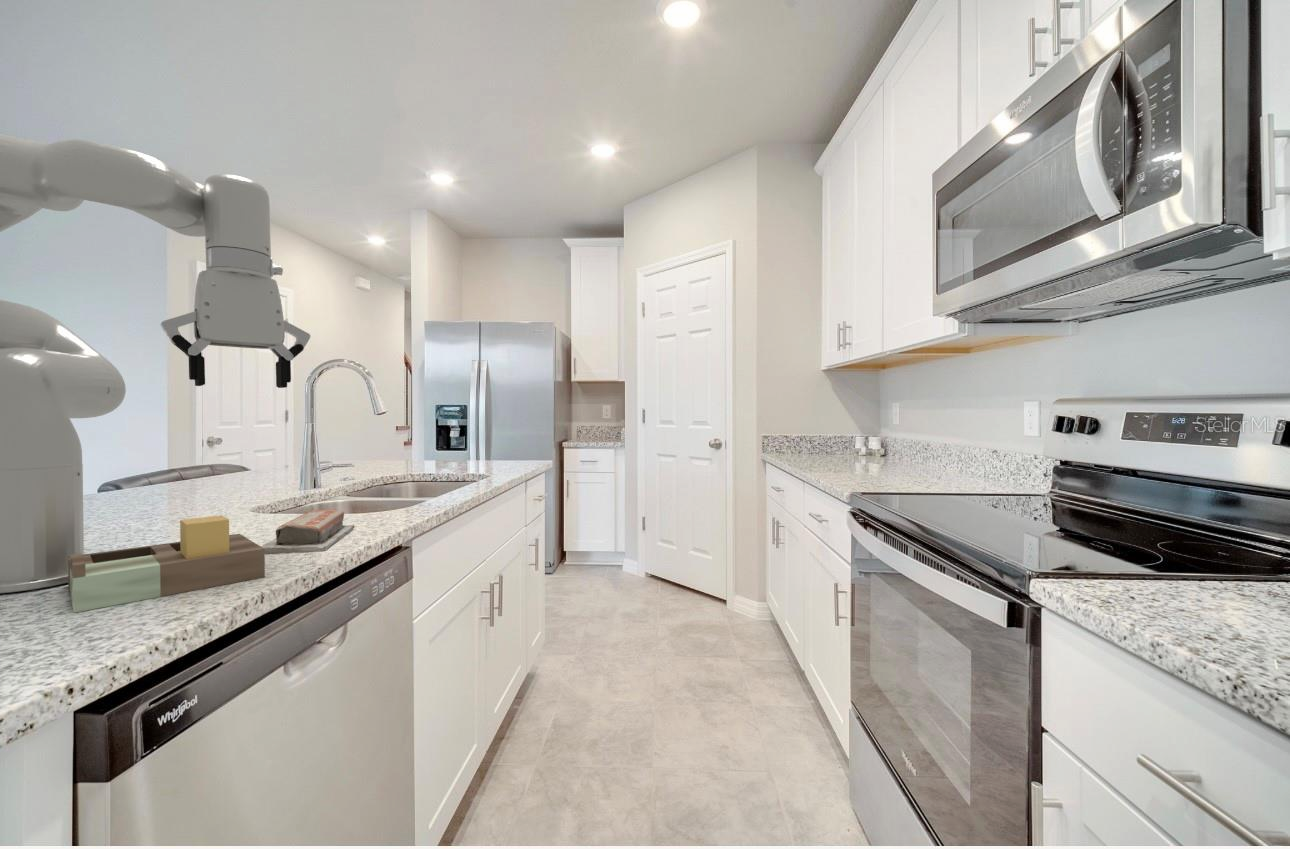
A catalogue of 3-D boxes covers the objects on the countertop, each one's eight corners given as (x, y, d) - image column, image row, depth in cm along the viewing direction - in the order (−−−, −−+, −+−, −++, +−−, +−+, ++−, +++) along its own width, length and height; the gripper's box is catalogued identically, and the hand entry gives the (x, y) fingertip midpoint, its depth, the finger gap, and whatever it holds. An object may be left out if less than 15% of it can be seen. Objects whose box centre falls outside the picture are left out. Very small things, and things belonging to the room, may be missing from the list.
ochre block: (180, 552, 73) (180, 519, 73) (221, 546, 77) (221, 515, 77) (186, 558, 70) (186, 524, 70) (229, 552, 74) (229, 519, 74)
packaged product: (298, 508, 105) (354, 507, 108) (298, 533, 105) (354, 531, 108) (257, 528, 88) (325, 525, 90) (257, 557, 88) (325, 554, 90)
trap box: (68, 586, 71) (67, 545, 71) (239, 558, 85) (239, 524, 85) (73, 612, 62) (72, 565, 62) (264, 576, 76) (264, 538, 76)
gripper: (300, 282, 86) (303, 389, 87) (155, 260, 74) (159, 386, 74) (315, 273, 81) (318, 387, 82) (162, 249, 69) (166, 383, 69)
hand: (242, 386), depth 78 cm, fingers open, 9 cm apart
